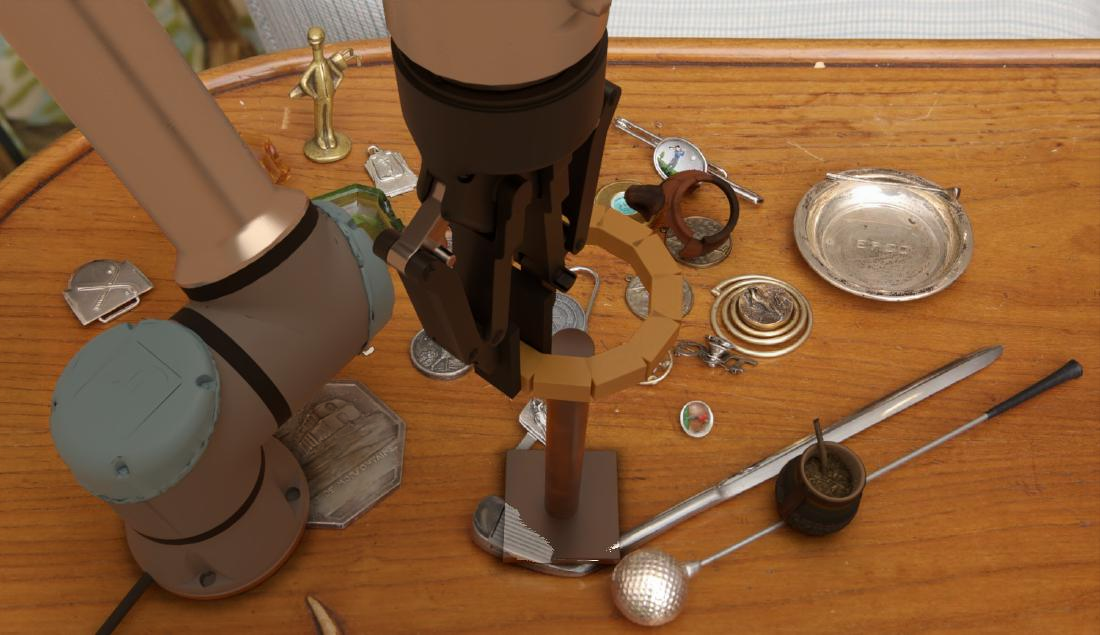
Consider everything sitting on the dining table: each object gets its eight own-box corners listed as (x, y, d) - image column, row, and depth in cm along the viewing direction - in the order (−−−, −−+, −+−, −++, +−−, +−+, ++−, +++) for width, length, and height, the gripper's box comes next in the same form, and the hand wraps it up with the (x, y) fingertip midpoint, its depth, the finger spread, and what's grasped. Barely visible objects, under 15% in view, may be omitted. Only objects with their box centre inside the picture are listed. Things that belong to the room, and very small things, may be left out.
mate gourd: (802, 561, 79) (834, 520, 71) (749, 489, 83) (773, 443, 74) (866, 520, 81) (904, 476, 73) (811, 452, 85) (841, 402, 76)
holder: (503, 563, 79) (488, 418, 55) (506, 455, 84) (495, 281, 61) (619, 564, 79) (654, 420, 55) (615, 457, 84) (646, 283, 61)
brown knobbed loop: (716, 187, 103) (750, 169, 95) (709, 270, 101) (744, 259, 94) (614, 170, 100) (641, 150, 92) (607, 255, 99) (633, 243, 91)
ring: (600, 442, 49) (602, 427, 47) (418, 325, 53) (415, 308, 51) (718, 285, 54) (723, 268, 53) (546, 190, 58) (546, 171, 57)
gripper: (432, 210, 27) (476, 505, 47) (712, -42, 33) (646, 311, 53) (256, 94, 29) (369, 422, 49) (549, -120, 36) (544, 246, 55)
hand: (513, 364), depth 51 cm, fingers closed on ring, 2 cm apart
